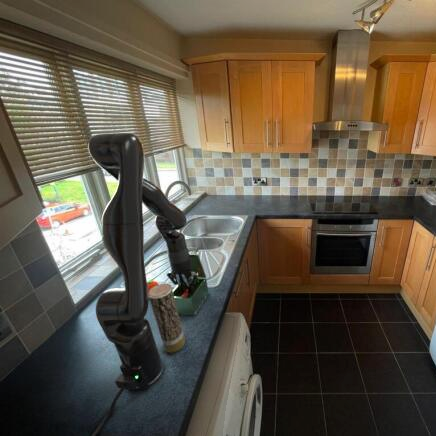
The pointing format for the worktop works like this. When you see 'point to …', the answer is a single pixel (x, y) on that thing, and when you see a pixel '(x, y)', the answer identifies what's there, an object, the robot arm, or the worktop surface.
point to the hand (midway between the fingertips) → (187, 291)
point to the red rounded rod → (185, 293)
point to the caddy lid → (196, 262)
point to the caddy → (191, 297)
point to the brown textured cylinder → (167, 317)
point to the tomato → (151, 284)
